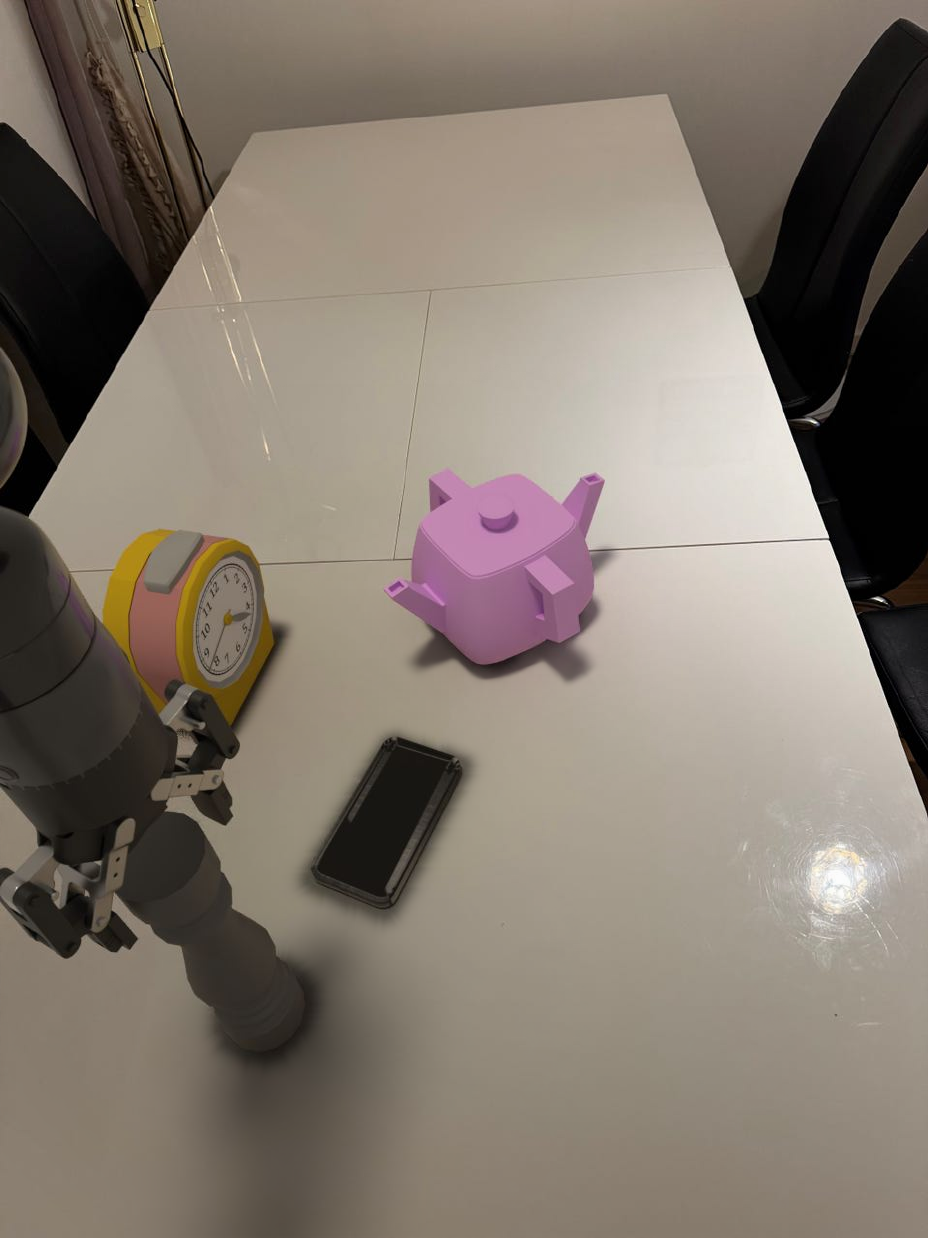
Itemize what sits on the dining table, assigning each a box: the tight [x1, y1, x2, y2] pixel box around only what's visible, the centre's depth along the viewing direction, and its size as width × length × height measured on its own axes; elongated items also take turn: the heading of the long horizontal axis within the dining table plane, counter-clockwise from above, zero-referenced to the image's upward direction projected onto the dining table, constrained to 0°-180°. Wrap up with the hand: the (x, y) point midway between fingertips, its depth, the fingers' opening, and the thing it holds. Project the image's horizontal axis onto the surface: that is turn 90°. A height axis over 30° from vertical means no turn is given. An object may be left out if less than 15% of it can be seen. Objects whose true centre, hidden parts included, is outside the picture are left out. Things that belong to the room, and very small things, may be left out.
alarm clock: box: [102, 528, 275, 727], centre depth 86 cm, size 15×8×18 cm, turn 164°
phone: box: [310, 736, 462, 909], centre depth 80 cm, size 8×1×15 cm
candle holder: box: [114, 810, 306, 1053], centre depth 61 cm, size 6×6×25 cm
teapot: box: [382, 467, 606, 665], centre depth 90 cm, size 19×18×15 cm
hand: (171, 875), depth 54 cm, fingers open, 8 cm apart
